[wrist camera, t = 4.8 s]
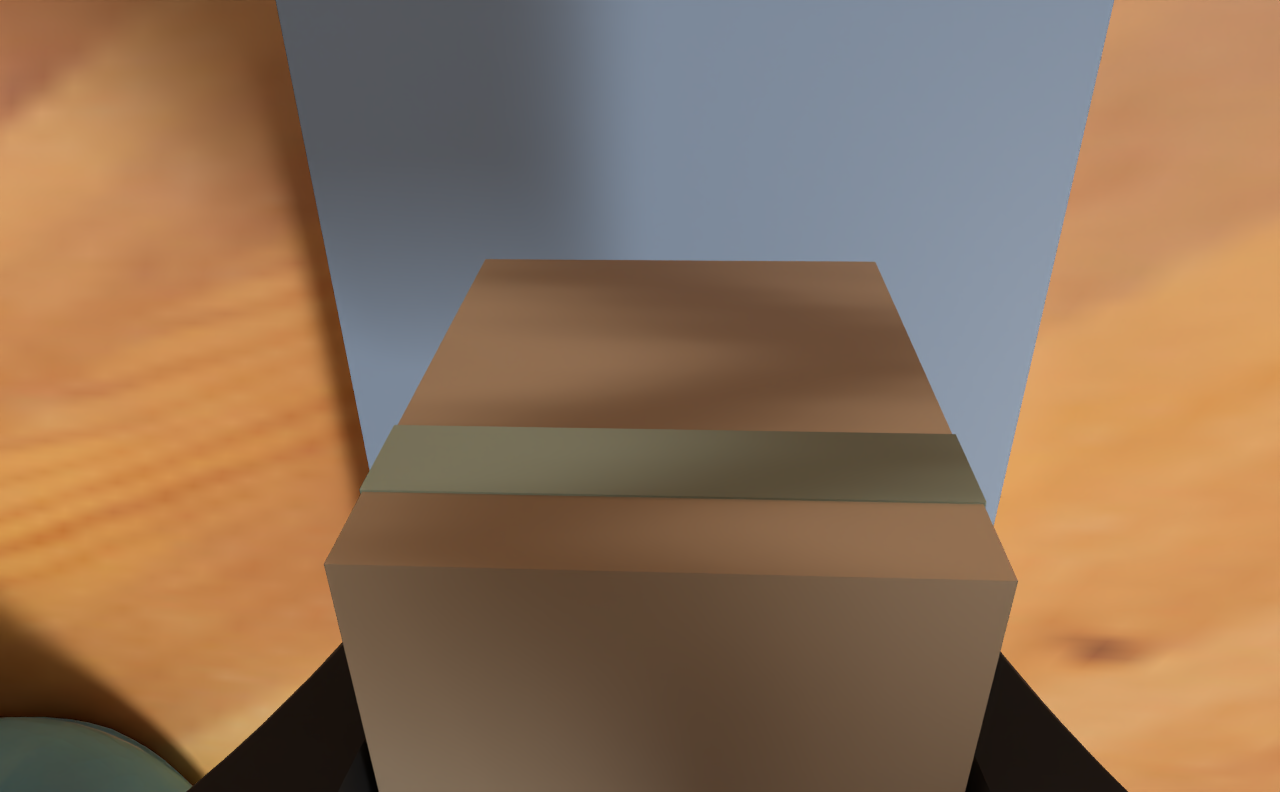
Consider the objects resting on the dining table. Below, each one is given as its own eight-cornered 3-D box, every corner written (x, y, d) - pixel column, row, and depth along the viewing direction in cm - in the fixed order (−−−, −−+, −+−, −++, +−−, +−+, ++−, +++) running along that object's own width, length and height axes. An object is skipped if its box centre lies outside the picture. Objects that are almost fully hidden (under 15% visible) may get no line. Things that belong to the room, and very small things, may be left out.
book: (1111, -210, 15) (1163, -218, 14) (944, 601, 24) (963, 658, 23) (284, -194, 16) (235, -200, 14) (423, 587, 25) (403, 641, 23)
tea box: (877, 259, 12) (1020, 578, 6) (827, 660, 15) (896, 1072, 10) (484, 258, 12) (319, 560, 7) (525, 651, 15) (438, 1049, 10)
